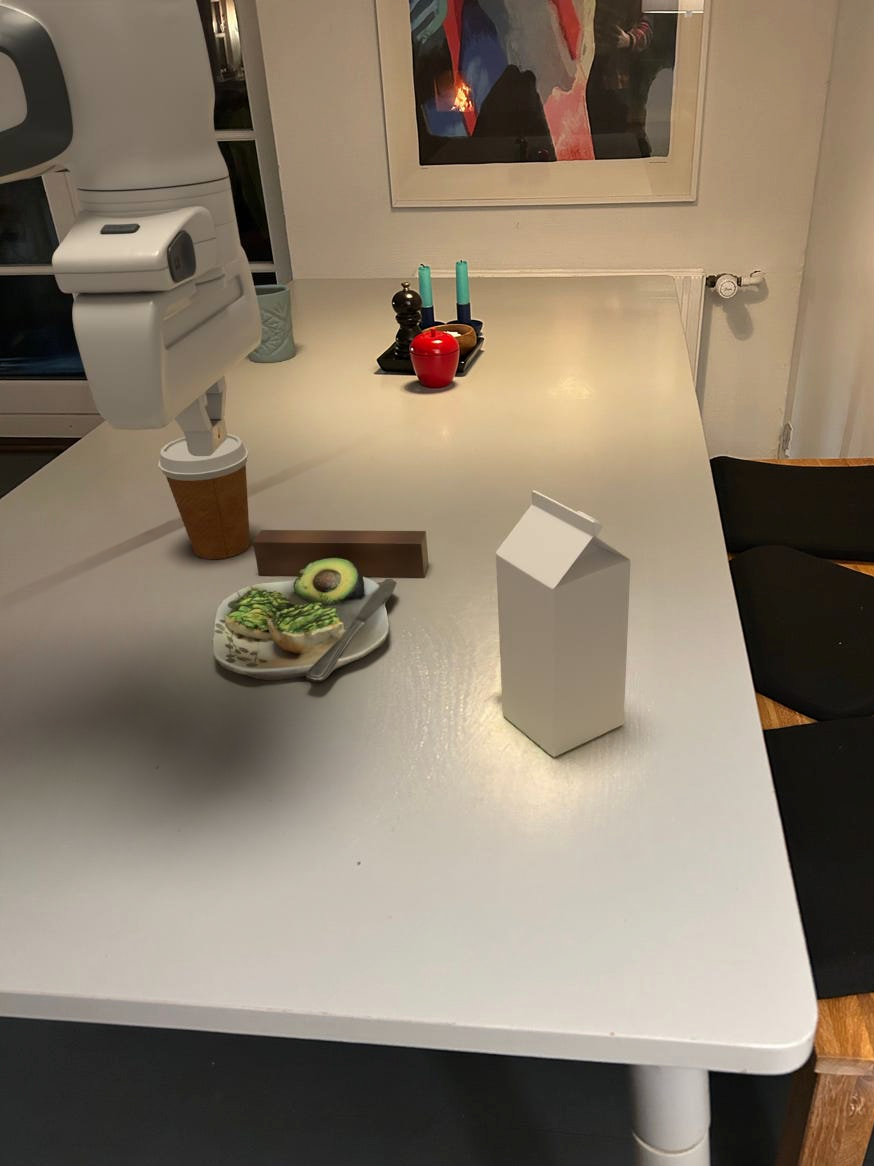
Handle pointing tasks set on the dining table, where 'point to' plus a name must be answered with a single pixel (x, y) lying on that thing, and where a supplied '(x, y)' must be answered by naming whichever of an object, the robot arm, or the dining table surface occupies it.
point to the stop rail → (342, 551)
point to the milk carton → (562, 627)
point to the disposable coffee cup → (210, 495)
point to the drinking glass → (274, 325)
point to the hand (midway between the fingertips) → (209, 448)
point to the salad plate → (302, 623)
